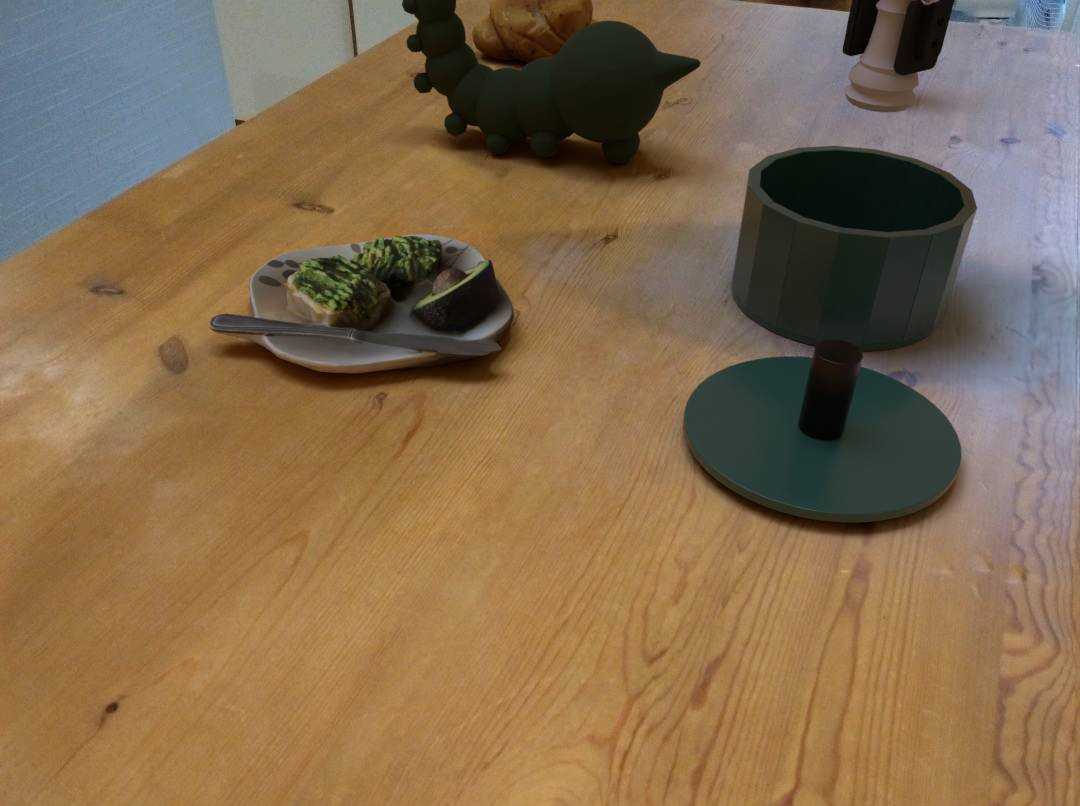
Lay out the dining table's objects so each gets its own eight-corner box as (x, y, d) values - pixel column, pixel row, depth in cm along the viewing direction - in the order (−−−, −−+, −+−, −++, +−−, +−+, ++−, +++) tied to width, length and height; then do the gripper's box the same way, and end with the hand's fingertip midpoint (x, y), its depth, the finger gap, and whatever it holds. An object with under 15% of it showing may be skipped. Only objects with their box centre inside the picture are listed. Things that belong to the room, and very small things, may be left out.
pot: (832, 235, 83) (854, 132, 77) (985, 314, 74) (1023, 203, 68) (689, 281, 76) (703, 172, 71) (838, 374, 67) (867, 257, 62)
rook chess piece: (835, 106, 66) (863, -36, 61) (850, 85, 69) (879, -52, 64) (907, 119, 65) (943, -26, 60) (920, 97, 68) (955, -42, 63)
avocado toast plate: (225, 418, 62) (211, 349, 59) (203, 279, 75) (190, 216, 72) (540, 371, 67) (542, 305, 64) (469, 248, 79) (468, 188, 76)
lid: (814, 348, 70) (834, 260, 66) (1013, 469, 60) (1051, 375, 56) (627, 420, 63) (636, 327, 59) (818, 570, 53) (845, 472, 49)
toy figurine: (409, 170, 94) (686, 185, 88) (374, -71, 82) (692, -75, 76) (448, 134, 101) (707, 145, 94) (421, -94, 89) (716, -99, 82)
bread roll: (465, 66, 112) (463, -18, 106) (483, 39, 119) (482, -41, 114) (586, 75, 110) (590, -9, 105) (597, 47, 118) (601, -33, 112)
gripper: (1169, -312, 50) (1039, 90, 62) (899, -329, 60) (832, 19, 72) (1072, -312, 47) (954, 113, 59) (804, -330, 57) (751, 35, 69)
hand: (888, 58), depth 65 cm, fingers closed on rook chess piece, 3 cm apart
